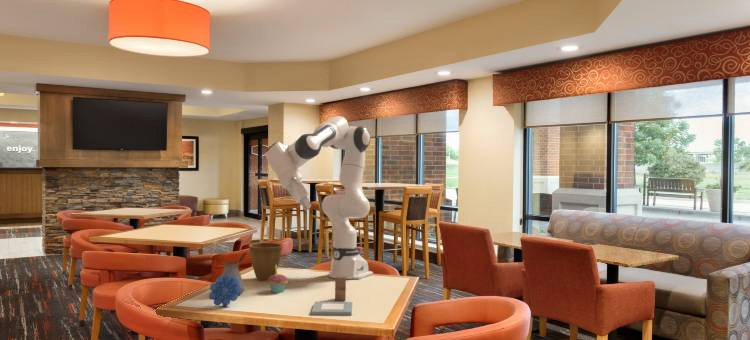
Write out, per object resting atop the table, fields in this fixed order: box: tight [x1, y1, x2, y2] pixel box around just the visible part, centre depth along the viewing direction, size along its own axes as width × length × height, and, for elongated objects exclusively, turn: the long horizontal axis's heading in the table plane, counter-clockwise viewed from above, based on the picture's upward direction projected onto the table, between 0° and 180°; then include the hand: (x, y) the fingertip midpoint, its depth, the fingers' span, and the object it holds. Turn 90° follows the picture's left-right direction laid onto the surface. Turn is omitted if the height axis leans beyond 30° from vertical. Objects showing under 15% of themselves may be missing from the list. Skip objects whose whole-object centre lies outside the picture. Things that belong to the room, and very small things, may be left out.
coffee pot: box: [220, 251, 250, 296], centre depth 224 cm, size 21×12×15 cm, turn 170°
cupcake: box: [266, 265, 289, 294], centre depth 226 cm, size 9×8×12 cm
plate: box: [311, 301, 353, 316], centre depth 198 cm, size 14×14×1 cm
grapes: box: [208, 274, 241, 307], centre depth 202 cm, size 12×7×12 cm, turn 98°
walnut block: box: [334, 276, 347, 302], centre depth 213 cm, size 4×4×9 cm
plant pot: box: [248, 242, 283, 282], centre depth 249 cm, size 15×15×16 cm
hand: (308, 208), depth 219 cm, fingers open, 8 cm apart
